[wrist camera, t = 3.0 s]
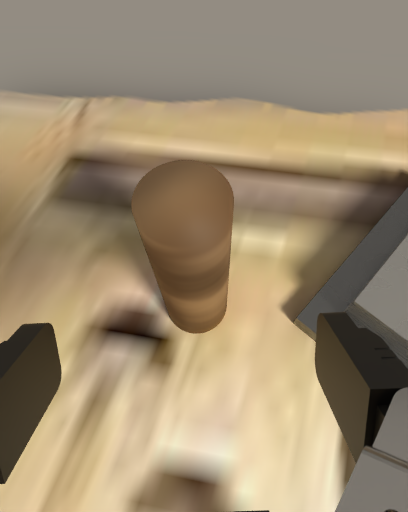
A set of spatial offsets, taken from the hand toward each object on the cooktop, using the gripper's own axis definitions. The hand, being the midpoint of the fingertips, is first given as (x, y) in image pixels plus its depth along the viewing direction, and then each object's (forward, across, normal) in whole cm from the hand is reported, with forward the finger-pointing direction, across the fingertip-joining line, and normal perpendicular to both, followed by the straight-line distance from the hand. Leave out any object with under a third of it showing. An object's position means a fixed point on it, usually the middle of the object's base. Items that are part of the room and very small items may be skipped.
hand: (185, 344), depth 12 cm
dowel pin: (+11, 0, +4) cm, 12 cm away
